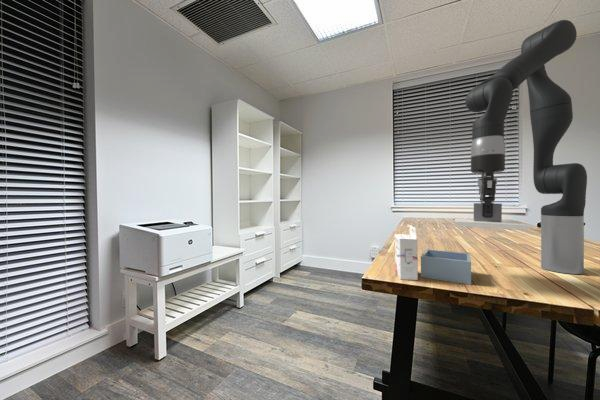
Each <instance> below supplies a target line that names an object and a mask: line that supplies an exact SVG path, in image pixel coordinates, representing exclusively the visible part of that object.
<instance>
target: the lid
mask: <svg viewBox="0 0 600 400" xmlns="http://www.w3.org/2000/svg"><path fill="white" fill-rule="evenodd" d="M502 205H503V204H502V203H495V202H494V203H493V217H492V218H485V217H483V216H482V203H481V202H479V203H473V218H455V219H454V227H465V228H483V229H498V230H516V231H518V230H519V231H531V225H530V224H527V223H524V222H521V221H517V220H503V219H502V218H503V217H502V213H503V211H502V210H503V209H502V208H503V206H502Z"/></svg>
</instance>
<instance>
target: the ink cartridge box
mask: <svg viewBox="0 0 600 400" xmlns="http://www.w3.org/2000/svg"><path fill="white" fill-rule="evenodd" d="M417 234H418V233H417V228H416V227H414V226H412V225H411V224H409V234H399V233H398V234H394V270H395V272H396V274H397V277H398V278H399V280H404V281H405V280H406V281H407V280H408V281H418V279H419V276H418V275H419V272H418V271H419V270H418V269H419V268H418V266H419V265H418V264H419V263H418V256H419V255H418V250H419V249H418V235H417Z"/></svg>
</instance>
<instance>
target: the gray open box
mask: <svg viewBox="0 0 600 400" xmlns="http://www.w3.org/2000/svg"><path fill="white" fill-rule="evenodd" d="M420 277H421V278H426V279H432V280H437V281H446V282H452V283H459V284H464V285H465V284H466V285H471V286H472V258H471V253H470V252H469V253H468V252H459V251H450V250H439V249H430V248H429V249H428V248H425V249H424V251H423V253H422V254H421V256H420Z"/></svg>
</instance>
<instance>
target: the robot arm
mask: <svg viewBox="0 0 600 400" xmlns="http://www.w3.org/2000/svg"><path fill="white" fill-rule="evenodd" d="M576 40H577V28H576V26H575V24H574V23H573V22H572V21H571V20H568V19H561V20H558V21H554V22H553V23H551V24H549V25H547V26H545V27H544V28H542V29H540V30H538V31H536V32H534V33H532V34H530V35H529V36H527V37H526V38H525V39H524V40H523V41H522V43H521V47H520V54H519V55H518V56H516V57H514V58H513V59H511V60H510V61H508V62H506V63H505V65H503V66H502V67H501V68H499V70H497V71H496V72H495V73H494V74H492V75H491V76H490V77H488V78H487V79H485V80H483V81H482V82H480V83H478V84H477V85H475V87H473V88H471V90H469V92H467V95H466V97H465V103H464V104H465V107H466V109H467V110H468V111H470V112H472V113H481V112H484V111H485V112H484V114H483V115H481V116H480V117H478V118H477V119H475V120H474V121H473V123H472V127H471V130H472V132H471V134H472V135H471V137H472V138H471V139H472V141H471V147H470V172H471V173H472V174H481V176H480V178H478V179H477V185H478V195H479V197H480V198H479V200H480V202H479V203H482V216H483V217H485V218H492V217H493V203H495V200H496V194H497V183H498V178H497V177H495V175H494V174H495V173H501V172H504V171H505V170H506V168H505V167H506V143H505V120H506V118H507V117H506V116H507V114H508V111H509V108H510V105H511V102H512V99H513V96H514V94H513V93H514V90H515V89H517V88H518V87H519V86H520V85H521V84H523V83H524V82H525V81H526V85H527V93H528V101H529V119H530V124H531V133H532V143H533V169H532V170H533V175H532V176H533V177H532V179H533V184H534V187H535V190H536V191H537V192H538V193H539V194H543V195H557V194H558V195H561V194H562V196H561V198H560V199H559V200H557V201H555V202H553V203H549V204H546V205H542V206H541V208H540V267H541V268H542V269H544V270H546V271H547V270H548V271H551V272H554V273H555V272H557V273H563V274H570V275H571V274H572V275H583V274H584V273H585V243H584V242H585V217H584V216H585V208H586V202H587V201H586V198H587V186H588V175H587V170H586V168H585V167H584V165H583V164H581V163H577V162H575V163H573V162H572V163H563V164H561V163H560V164H555V165H554V155H555V150H556V148H557V146H558V144H559V143H560V141H561V140H562V139H563V137H564V135H565V134H566V132H567V131H568V129H569V128H570V126H571V124H572V122H573V117H574V115H573V113H574V112H573V102H572V97H571V95H570V94H569V93H568V92H567V91H566V90H565V89H564V88H563V87H561V86H560V85H558V84H557V83H555V82H554V81H553V80H552V79H551V78H550V77H549V75H548V73H547V71H546V65H545V64H547V63H548V62H550V61H551V60H553V59H554V58H555V57H558V56H560V55H562V54H563V53H565V52H567V51H569V49H571V48H572V47H573V46H574V44H575V43H576Z"/></svg>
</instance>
